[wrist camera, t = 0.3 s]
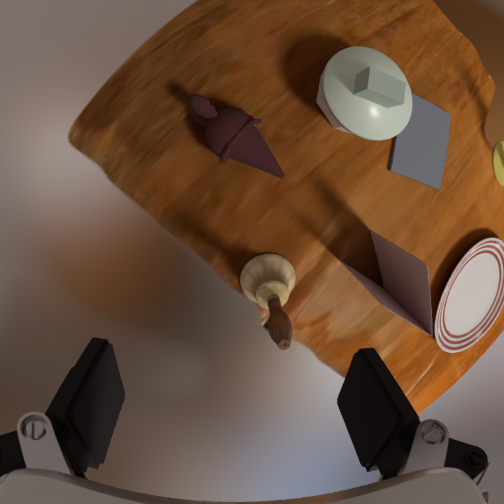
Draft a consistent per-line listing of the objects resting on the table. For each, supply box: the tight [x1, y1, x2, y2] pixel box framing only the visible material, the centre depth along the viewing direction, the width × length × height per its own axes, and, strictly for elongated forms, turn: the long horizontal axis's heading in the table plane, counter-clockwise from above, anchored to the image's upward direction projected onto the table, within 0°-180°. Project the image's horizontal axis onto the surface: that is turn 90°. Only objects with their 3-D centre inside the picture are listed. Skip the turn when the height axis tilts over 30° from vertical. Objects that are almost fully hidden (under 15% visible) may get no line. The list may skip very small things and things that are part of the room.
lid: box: [322, 46, 412, 140], centre depth 27 cm, size 13×13×5 cm
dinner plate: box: [435, 238, 504, 353], centre depth 46 cm, size 27×27×3 cm
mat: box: [389, 93, 451, 190], centre depth 36 cm, size 14×11×1 cm
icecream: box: [189, 94, 285, 178], centre depth 32 cm, size 7×7×15 cm
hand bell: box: [240, 253, 295, 350], centre depth 34 cm, size 8×8×16 cm
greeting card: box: [337, 230, 432, 337], centre depth 35 cm, size 11×7×15 cm, turn 24°
